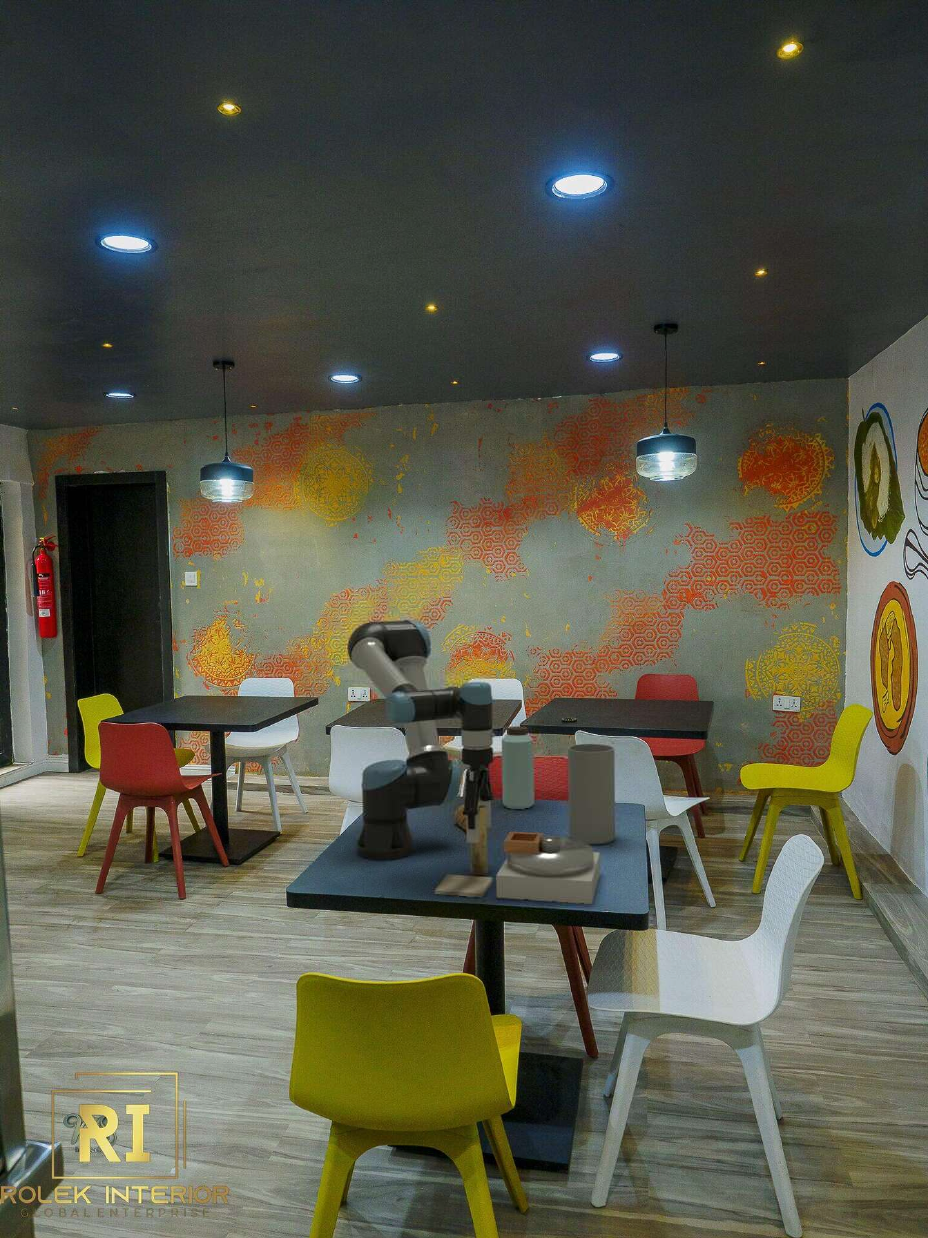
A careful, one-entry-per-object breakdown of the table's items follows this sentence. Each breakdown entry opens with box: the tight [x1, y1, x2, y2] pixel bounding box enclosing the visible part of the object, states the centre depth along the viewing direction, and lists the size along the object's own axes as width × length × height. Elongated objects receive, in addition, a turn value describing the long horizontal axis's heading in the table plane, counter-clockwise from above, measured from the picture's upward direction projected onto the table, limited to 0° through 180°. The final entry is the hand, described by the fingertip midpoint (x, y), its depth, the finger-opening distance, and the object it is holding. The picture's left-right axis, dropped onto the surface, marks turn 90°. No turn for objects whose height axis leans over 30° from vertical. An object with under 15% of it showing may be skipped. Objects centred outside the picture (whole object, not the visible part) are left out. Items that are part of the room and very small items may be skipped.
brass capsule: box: [470, 805, 488, 876], centre depth 206 cm, size 4×4×16 cm
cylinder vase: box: [567, 743, 616, 846], centre depth 233 cm, size 12×12×25 cm
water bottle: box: [501, 725, 535, 810], centre depth 270 cm, size 10×10×25 cm
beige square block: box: [495, 851, 601, 905], centre depth 197 cm, size 21×21×5 cm
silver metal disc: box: [503, 831, 595, 876], centre depth 197 cm, size 20×20×6 cm
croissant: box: [453, 802, 479, 832], centre depth 250 cm, size 21×10×8 cm, turn 177°
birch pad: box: [434, 874, 494, 899], centre depth 196 cm, size 11×11×1 cm
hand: (479, 834), depth 206 cm, fingers open, 13 cm apart
